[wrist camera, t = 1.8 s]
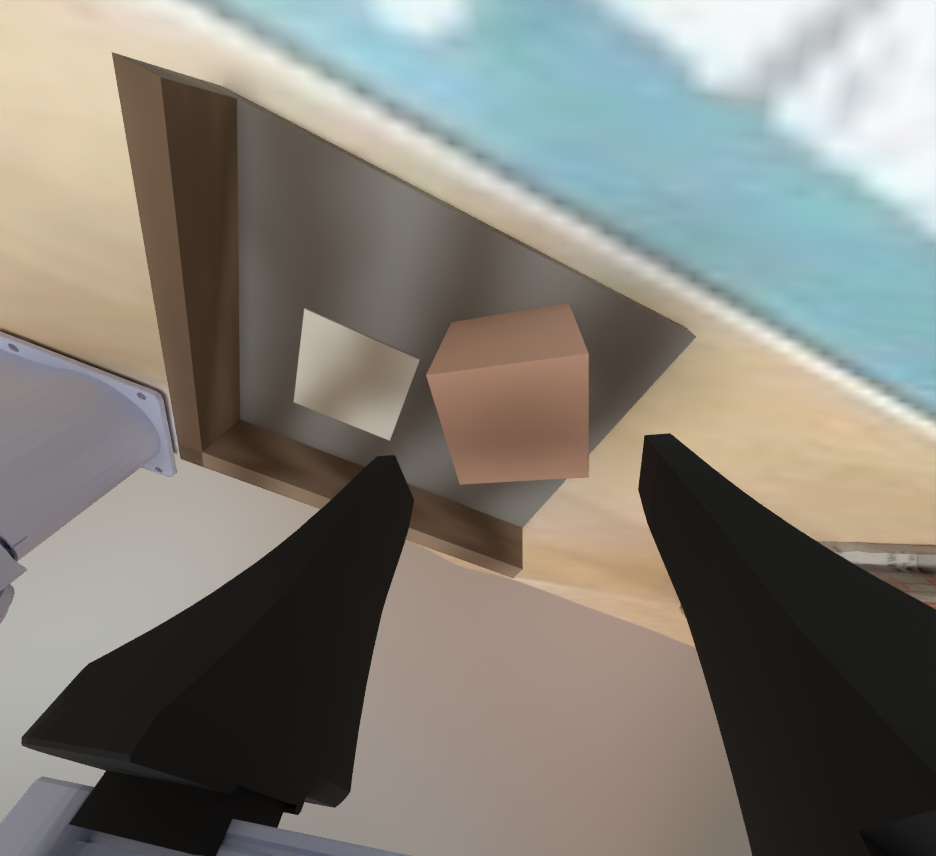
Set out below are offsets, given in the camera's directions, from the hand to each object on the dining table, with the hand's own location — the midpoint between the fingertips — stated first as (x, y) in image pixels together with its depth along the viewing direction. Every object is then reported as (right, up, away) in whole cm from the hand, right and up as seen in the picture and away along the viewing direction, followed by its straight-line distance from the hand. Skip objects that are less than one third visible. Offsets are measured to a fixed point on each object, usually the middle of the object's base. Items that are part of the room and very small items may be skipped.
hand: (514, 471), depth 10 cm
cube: (+1, +4, +6) cm, 7 cm away
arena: (-4, +4, +8) cm, 10 cm away
